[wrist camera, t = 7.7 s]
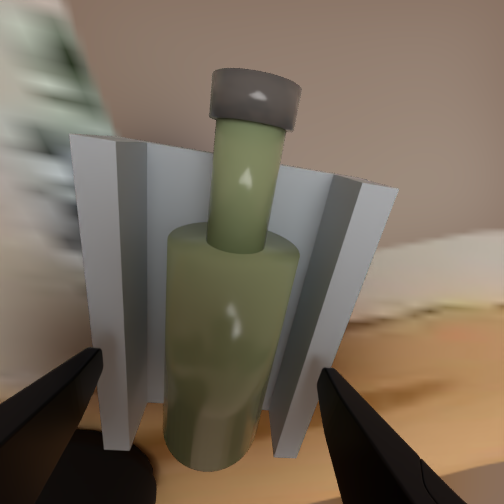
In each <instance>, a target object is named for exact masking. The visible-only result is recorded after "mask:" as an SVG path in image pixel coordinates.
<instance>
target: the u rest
mask: <svg viewBox="0 0 504 504" xmlns="http://www.w3.org/2000/svg"><path fill="white" fill-rule="evenodd" d="M69 137H70V146H71V155H72V164H73V173H74V182H75V191H76V200H77V209H78V218H79V227H80V236H81V245H82V254H83V263H84V272H85V282H86V291H87V300H88V309H89V318H90V327H91V336H92V345H93V347H94V348H101V349H102V354H103V371H102V374H101V376H100V378H99V380H98V383H97V390H98V399H99V408H100V417H101V426H102V435H103V444H104V450H125V451H130V449H131V446H132V443H133V441H134V438H135V435H136V432H137V430H138V427H139V424H140V421H141V418H142V416H143V413H144V410H145V407H146V405H147V402H151V403H163V402H164V361H165V319H166V277H167V238H168V235H169V234H170V233H171V232H172V231H173V230H174V229H176V228H178V227H181V226H184V225H187V224H192V223H199V222H207V221H208V209H209V198H210V186H211V175H212V164H213V153H211V152H206V151H200V150H193V149H188V148H182V147H176V146H170V145H164V144H158V143H152V142H147V141H141V140H135V139H129V138H123V137H117V136H97V135H83V134H70V133H69ZM398 190H399V189H397V188H394V187H389V186H386V185H383V184H379V183H375V182H372V181H368V180H366V179H362V178H358V177H352V176H347V175H341V174H335V173H328V172H323V171H317V170H311V169H305V168H300V167H294V166H288V165H281V164H280V168H279V173H278V178H277V184H276V189H275V194H274V200H273V205H272V210H271V216H270V221H269V226H268V231H270V232H273V233H276V234H278V235H280V236H282V237H284V238H286V239H287V240H289V241H290V242H292V243H293V244H294V245H295V246H296V247H297V249H298V250H299V253H300V258H299V262H298V266H297V270H296V274H295V278H294V282H293V286H292V290H291V294H290V298H289V302H288V306H287V310H286V314H285V318H284V322H283V326H282V330H281V334H280V338H279V342H278V346H277V350H276V354H275V358H274V362H273V366H272V370H271V374H270V378H269V382H268V386H267V390H266V394H265V398H264V402H263V406H262V410H269V418H270V427H271V436H272V446H273V455H274V457H278V458H296V457H297V455H298V452H299V450H300V447H301V444H302V442H303V439H304V437H305V434H306V431H307V429H308V426H309V423H310V421H311V418H312V416H313V413H314V410H315V408H316V405H317V402H318V400H319V399H318V393H317V381H318V378H319V376H320V373H321V370H322V368H324V367H329V368H331V366H332V363H333V361H334V358H335V355H336V353H337V350H338V347H339V345H340V342H341V340H342V337H343V334H344V332H345V329H346V327H347V324H348V321H349V319H350V316H351V313H352V311H353V308H354V306H355V303H356V300H357V298H358V295H359V293H360V290H361V287H362V285H363V282H364V279H365V277H366V274H367V272H368V269H369V266H370V264H371V261H372V258H373V256H374V253H375V251H376V248H377V245H378V243H379V240H380V238H381V235H382V232H383V230H384V227H385V224H386V222H387V219H388V216H389V214H390V211H391V209H392V206H393V203H394V201H395V198H396V196H397V193H398Z"/></svg>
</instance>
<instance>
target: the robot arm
mask: <svg viewBox="0 0 504 504" xmlns="http://www.w3.org/2000/svg"><path fill="white" fill-rule="evenodd" d="M102 371H103V354H102V349H101V348H94V347H89V348H86V349H85V350H83V351H81V352H80V353H78V354H77V355H75V356H74V357H72V358H71V359H69V360H68V361H66V362H64V363H63V364H61V365H60V366H58V367H57V368H55V369H54V370H52V371H51V372H49V373H47V374H46V375H44V376H43V377H41V378H40V379H38V380H37V381H35V382H34V383H32V384H31V385H29V386H27V387H26V388H24V389H23V390H21V391H20V392H18V393H17V394H15V395H14V396H12V397H10V398H9V399H7V400H6V401H4V402H3V403H1V404H0V504H34V503H35V502H36V500H37V498H38V496H39V494H40V493H41V491H42V489H43V487H44V485H45V484H46V482H47V480H48V478H49V477H50V475H51V473H52V471H53V469H54V468H55V466H56V464H57V462H58V460H59V459H60V457H61V455H62V453H63V451H64V450H65V448H66V446H67V444H68V443H69V441H70V439H71V437H72V435H73V434H74V432H75V430H76V428H77V426H78V424H79V423H80V421H81V419H82V417H83V414H84V412H85V410H86V408H87V405H88V403H89V401H90V399H91V396H92V394H93V392H94V390H95V387H96V385H97V383H98V380H99V378H100V376H101V374H102ZM317 393H318V399H319V405H320V411H321V417H322V423H323V428H324V434H325V438H326V442H327V445H328V449H329V453H330V457H331V460H332V464H333V468H334V472H335V476H336V479H337V483H338V487H339V491H340V494H341V498H342V502H343V504H467V503H466V502H464V501H463V500H462V499H461V498H460V497H459V496H458V495H457V494H456V493H455V492H454V491H453V490H452V489H451V488H450V487H449V486H448V485H447V484H446V483H445V482H444V481H443V480H442V479H441V478H440V477H439V476H438V475H437V474H436V473H435V472H434V471H433V470H432V469H431V468H430V467H429V466H428V465H427V464H426V463H425V462H424V461H423V460H422V459H420V457H419V456H418V455H417V453H416V452H415V451H414V450H413V449H412V448H411V447H410V446H409V445H408V444H407V443H406V442H405V441H404V440H403V439H402V438H401V437H400V436H399V435H398V434H397V433H396V432H395V431H394V430H393V429H392V428H391V427H390V425H389V424H388V423H387V422H386V421H385V420H384V419H383V418H382V417H381V416H380V415H379V414H378V413H377V412H376V411H375V410H374V409H373V408H372V407H371V406H370V405H369V404H368V403H367V402H366V401H365V400H364V399H363V398H362V396H361V395H360V394H359V393H358V392H357V391H356V390H355V389H354V388H353V387H352V386H351V385H350V384H349V383H348V382H347V381H346V380H345V379H344V378H343V377H342V376H341V375H340V374H339V373H338V372H337V371H336V370H335V369H334V368H329V367H324V368H322V370H321V373H320V376H319V378H318V381H317Z"/></svg>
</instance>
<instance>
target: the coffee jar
mask: <svg viewBox="0 0 504 504" xmlns="http://www.w3.org/2000/svg"><path fill="white" fill-rule="evenodd" d="M156 490H157V489H156V480H155V478H154V476H153V468H152V466H151V464H150V462H149V460H148V458H147V456H146V455H145V454H144V453H142V452H141V451H140V450H139V449H138V448H137V447H136V446H134V445H133V444H132V446H131V449H130V451H125V450H104V444H103V435H102V433H101V432H97V431H91V430H77V429H76V430H75V432H74V434H73V435H72V437H71V439H70V441H69V443H68V444H67V446H66V448H65V450H64V451H63V453H62V455H61V457H60V459H59V460H58V462H57V464H56V466H55V468H54V469H53V471H52V473H51V475H50V477H49V478H48V480H47V482H46V484H45V485H44V487H43V489H42V491H41V493H40V494H39V496H38V498H37V500H36V502H35V503H34V504H155V502H156Z"/></svg>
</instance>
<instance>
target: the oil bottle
mask: <svg viewBox="0 0 504 504" xmlns="http://www.w3.org/2000/svg"><path fill="white" fill-rule="evenodd" d="M301 90H302V89H301V87H300V86H299V85H298V84H296V83H295V82H293V81H291V80H289V79H286V78H283V77H281V76H277V75H274V74H270V73H266V72H261V71H256V70H249V69H240V68H224V69H218V70H215V71H214V72H213V74H212V87H211V100H210V113H209V117H210V118H212V119H215V120H216V129H215V141H214V152H213V164H212V175H211V186H210V198H209V209H208V221H207V222H199V223H192V224H187V225H184V226H181V227H178V228H176V229H174V230H173V231H172V232H171V233H170V234H169V235H168V238H167V277H166V319H165V361H164V402H163V433H164V439H165V442H166V445H167V447H168V449H169V451H170V452H171V453H172V455H173V456H174V457H175V458H176V459H177V460H178V461H179V462H180V463H182V464H183V465H185V466H187V467H189V468H191V469H194V470H197V471H203V472H212V471H218V470H222V469H225V468H227V467H229V466H231V465H233V464H234V463H236V462H237V461H239V460H240V459H241V458H242V457H243V456H244V455H245V453H246V452H247V451H248V450H249V448H250V446H251V445H252V442H253V440H254V438H255V434H256V430H257V426H258V422H259V418H260V414H261V410H262V406H263V402H264V398H265V394H266V390H267V386H268V382H269V378H270V374H271V370H272V366H273V362H274V358H275V354H276V350H277V346H278V342H279V338H280V334H281V330H282V326H283V322H284V318H285V314H286V310H287V306H288V302H289V298H290V294H291V290H292V286H293V282H294V278H295V274H296V270H297V266H298V262H299V258H300V253H299V250H298V249H297V247H296V246H295V245H294V244H293V243H292V242H290V241H289V240H287V239H286V238H284V237H282V236H280V235H278V234H276V233H273V232H270V231H268V226H269V221H270V216H271V210H272V205H273V200H274V194H275V189H276V184H277V178H278V173H279V168H280V162H281V157H282V151H283V146H284V141H285V135H286V132H293V131H294V126H295V121H296V116H297V111H298V105H299V101H300V96H301Z"/></svg>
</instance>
